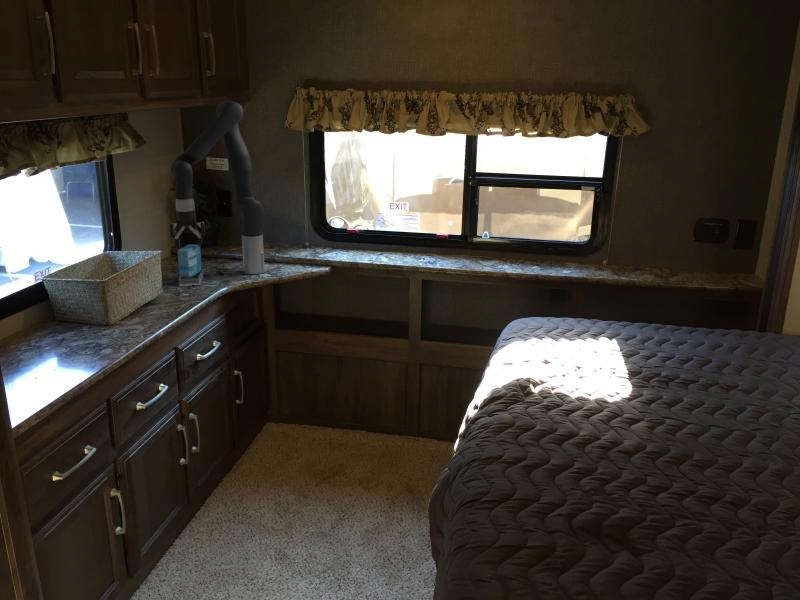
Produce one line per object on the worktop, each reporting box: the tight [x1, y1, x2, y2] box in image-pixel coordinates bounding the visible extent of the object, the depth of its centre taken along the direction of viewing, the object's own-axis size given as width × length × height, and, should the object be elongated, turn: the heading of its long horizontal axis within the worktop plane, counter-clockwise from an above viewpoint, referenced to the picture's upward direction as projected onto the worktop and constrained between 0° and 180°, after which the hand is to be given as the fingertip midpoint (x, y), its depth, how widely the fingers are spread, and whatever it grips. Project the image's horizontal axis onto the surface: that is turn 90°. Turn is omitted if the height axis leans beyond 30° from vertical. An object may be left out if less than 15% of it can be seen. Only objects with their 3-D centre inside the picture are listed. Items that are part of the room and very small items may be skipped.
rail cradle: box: [178, 264, 204, 287], centre depth 293 cm, size 8×16×5 cm, turn 10°
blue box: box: [177, 243, 203, 277], centre depth 291 cm, size 12×4×12 cm, turn 170°
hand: (189, 246), depth 289 cm, fingers open, 8 cm apart
